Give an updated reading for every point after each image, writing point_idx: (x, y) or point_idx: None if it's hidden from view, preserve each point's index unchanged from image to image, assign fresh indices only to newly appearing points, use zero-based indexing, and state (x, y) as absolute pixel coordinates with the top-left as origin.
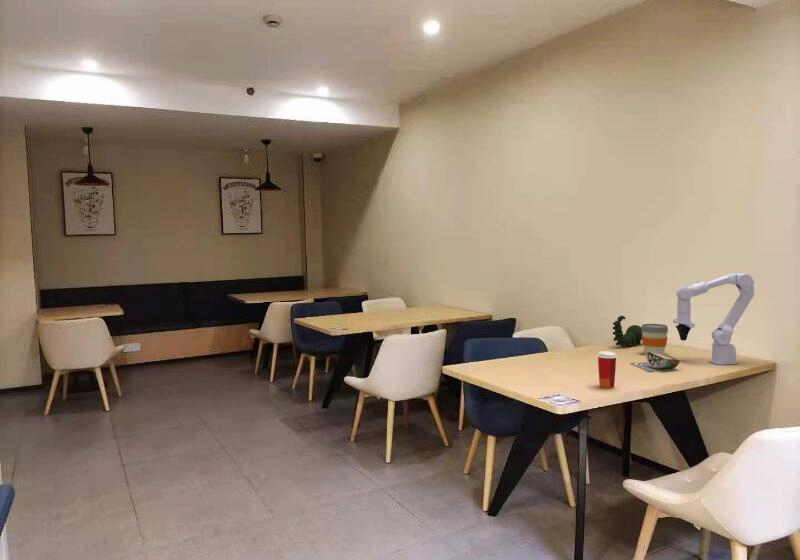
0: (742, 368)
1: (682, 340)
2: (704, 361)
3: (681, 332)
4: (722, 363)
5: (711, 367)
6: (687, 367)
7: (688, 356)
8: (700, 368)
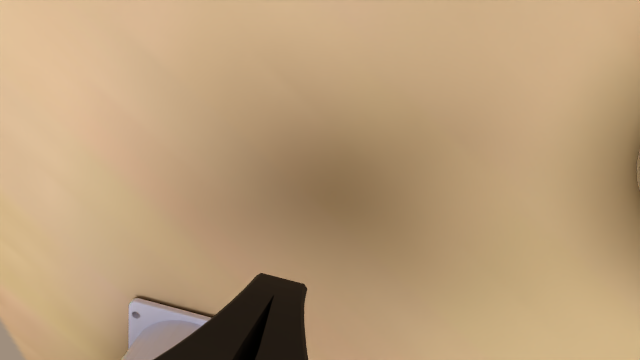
0: (28, 341)
1: (258, 277)
2: None
3: (168, 358)
4: (136, 334)
5: (79, 201)
6: (109, 13)
7: (474, 354)
8: (58, 95)
